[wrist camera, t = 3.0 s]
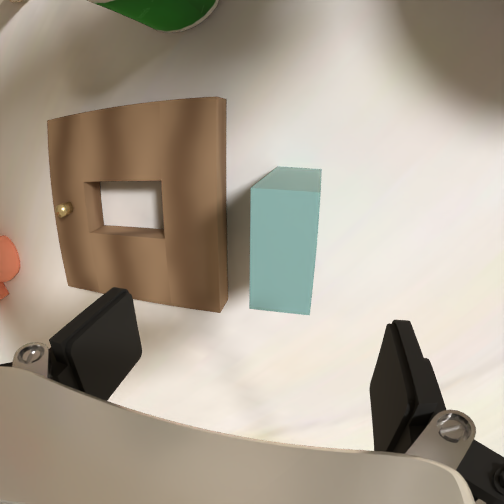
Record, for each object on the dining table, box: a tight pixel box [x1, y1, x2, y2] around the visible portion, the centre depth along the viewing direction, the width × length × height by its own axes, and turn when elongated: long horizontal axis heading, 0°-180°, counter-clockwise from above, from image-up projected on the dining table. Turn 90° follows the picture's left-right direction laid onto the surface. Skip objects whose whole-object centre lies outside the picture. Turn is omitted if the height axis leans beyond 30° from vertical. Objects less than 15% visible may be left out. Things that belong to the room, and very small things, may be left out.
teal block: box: [249, 167, 322, 315], centre depth 22 cm, size 4×7×10 cm, turn 179°
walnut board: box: [47, 97, 228, 313], centre depth 27 cm, size 18×18×4 cm
